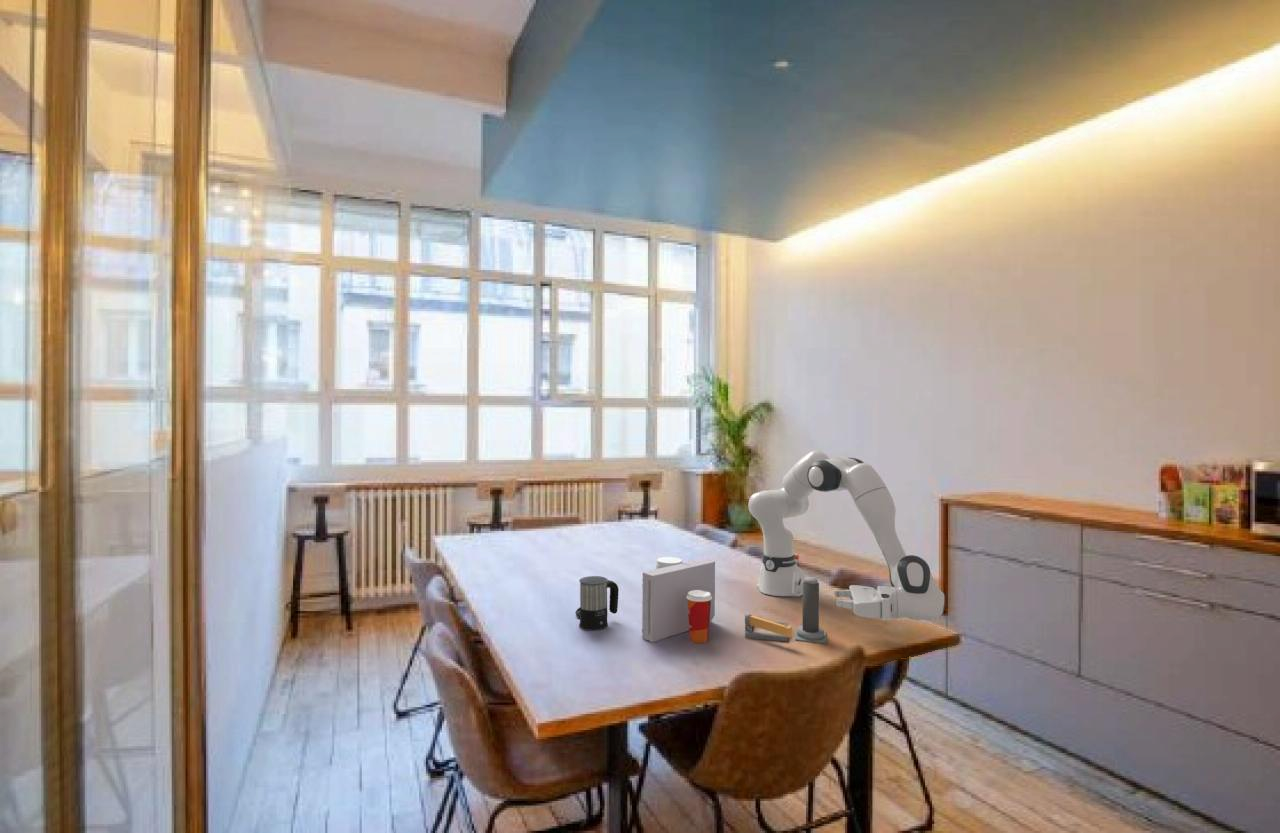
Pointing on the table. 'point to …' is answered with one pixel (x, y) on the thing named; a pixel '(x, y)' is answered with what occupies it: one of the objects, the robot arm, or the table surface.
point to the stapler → (768, 625)
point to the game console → (673, 597)
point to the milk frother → (596, 602)
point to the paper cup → (699, 615)
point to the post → (748, 628)
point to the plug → (810, 611)
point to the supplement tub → (667, 562)
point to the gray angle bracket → (767, 635)
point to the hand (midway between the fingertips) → (835, 597)
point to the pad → (810, 640)
